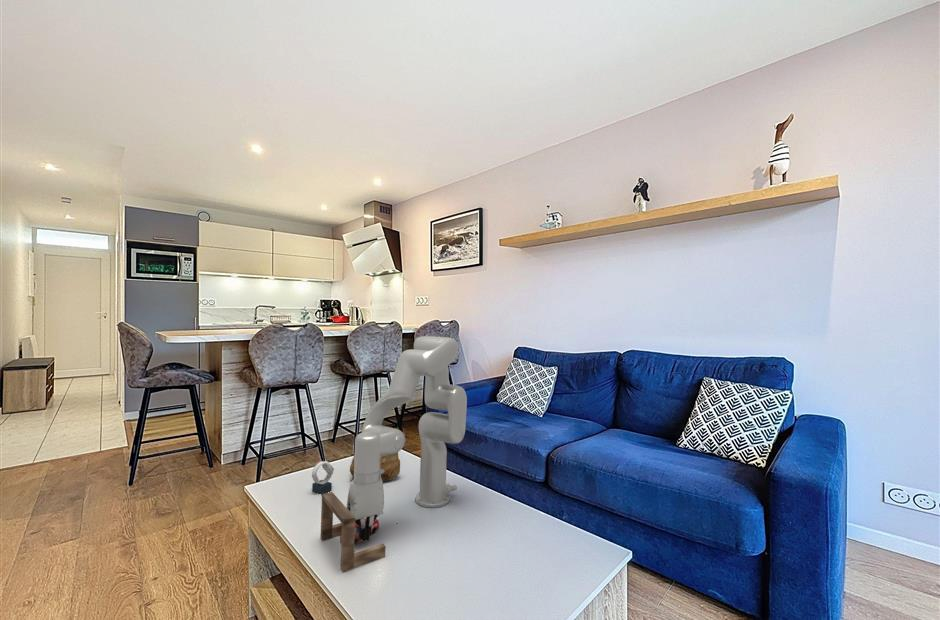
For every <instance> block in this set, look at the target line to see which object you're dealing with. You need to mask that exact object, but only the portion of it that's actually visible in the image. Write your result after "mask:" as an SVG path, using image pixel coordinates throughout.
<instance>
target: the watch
mask: <svg viewBox="0 0 940 620" xmlns="http://www.w3.org/2000/svg"><path fill="white" fill-rule="evenodd" d="M321 467H322V469H323V470H324V471H325V473H326V475H325V477H324V478H323V479H319V477H318V474H317V472H318V470H319V469H320V468H321ZM334 468H335V467H333V465H332V464H331V463H330V462H329V461H326V460H325V461H323V460H321V461H319V462H317V463H316V464H315V465H314V467H313V469H312V472H311V473H312V475H311V477H312V480H313V483H312V484H311V486H312V487H311V493H314V492H315V493H314V494H317V493H318V494H317V495H319V494H321V495H320V496H322V494H324V493H328V492H330V491H331V492H332V488H333V487H332V484H333V483H332V482H329V481H330V479H331V478H332V476H333V474H334V470H335V469H334Z"/></svg>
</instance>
